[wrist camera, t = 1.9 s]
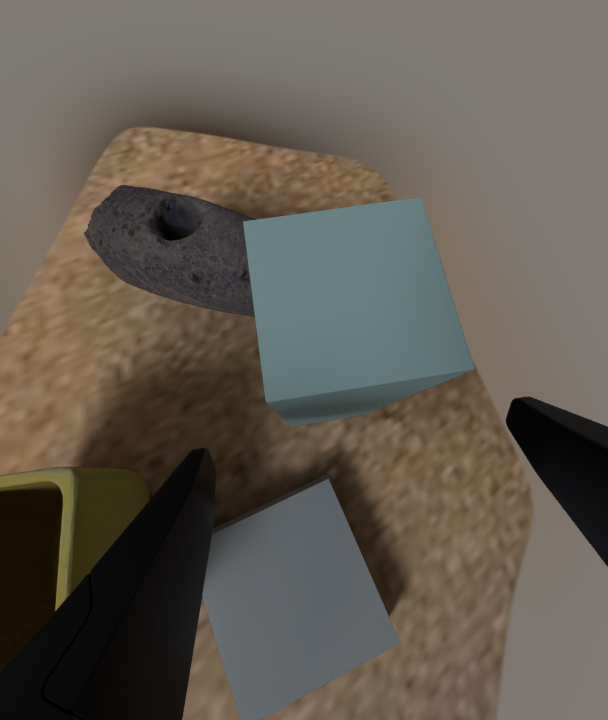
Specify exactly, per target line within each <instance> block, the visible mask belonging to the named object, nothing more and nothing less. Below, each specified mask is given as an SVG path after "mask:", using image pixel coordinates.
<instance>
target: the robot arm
mask: <svg viewBox="0 0 608 720" xmlns="http://www.w3.org/2000/svg"><path fill="white" fill-rule="evenodd" d="M506 424H507V427H508V429H509V430H510V432H511V433H512V435H513V437H514V438H515V440H516V441H517V443H518V444H519V446H520V448H521V449H522V451H523V452H524V454H525V456H526V457H527V459H528V460H529V462H530V464H531V465H532V467H533V468H534V470H535V471H536V473H537V474H538V476H539V477H540V478H541V480H542V481H543V483H544V484H545V485H546V487H547V488H548V489H549V490H550V492H551V493H552V494H553V496H554V497H555V498H556V500H557V501H558V502H559V503H560V505H561V506H562V507H563V509H564V510H565V511H566V513H567V514H568V515H569V517H570V518H571V519H572V521H573V522H574V523H575V525H576V526H577V527H578V528H579V530H580V531H581V532H582V534H583V535H584V536H585V538H586V539H587V540H588V541H589V543H590V544H591V545H592V547H593V548H594V549H595V551H596V552H597V553H598V555H599V556H600V557H601V559H602V560H603V561H604V562H605V564H606V565H607V566H608V427H607V426H605V425H602V424H600V423H597V422H594V421H592V420H589V419H586V418H584V417H581V416H579V415H576V414H573V413H571V412H568V411H566V410H563V409H560V408H558V407H555V406H552V405H550V404H547V403H545V402H542V401H540V400H537V399H534V398H532V397H522V398H515V399H513V400H512V402H511V405H510V408H509V411H508V415H507V418H506ZM215 482H216V470H215V466H214V463H213V460H212V458H211V455H210V453H209V451H208V449H207V448H199V449H194V450H192V451H190V453H189V454H188V455H187V456H186V457H185V458H184V460H183V461H182V462H181V463H180V464H179V466H178V467H177V468H176V469H175V470H174V472H173V473H172V474H171V475H170V476H169V477H168V479H167V480H166V481H165V482H164V483H163V485H162V486H161V487H160V488H159V489H158V491H157V492H156V493H155V494H154V495H153V497H152V498H151V499H150V500H149V501H148V502H147V504H146V505H145V506H144V507H143V508H142V510H141V511H140V512H139V513H138V514H137V516H136V517H135V518H134V519H133V520H132V521H131V523H130V524H129V525H128V526H127V527H126V529H125V530H124V531H123V532H122V533H121V535H120V536H119V537H118V538H117V539H116V541H115V542H114V543H113V544H112V545H111V546H110V548H109V549H108V550H107V551H106V552H105V554H104V555H103V556H102V557H101V558H100V560H99V561H98V562H97V563H96V564H95V565H94V567H93V568H92V569H91V571H90V573H89V574H87V575H86V576H85V577H84V578H83V580H82V581H81V582H80V583H79V584H78V586H77V587H76V588H75V589H74V590H73V591H72V593H71V594H70V595H69V596H68V597H67V598H66V600H65V601H64V602H63V603H62V604H61V605H60V606H59V608H58V609H57V610H56V611H55V612H54V613H53V614H52V616H51V617H50V618H49V619H48V620H47V621H46V622H45V623H44V625H43V626H42V627H41V628H40V629H39V630H38V631H37V632H36V633H35V634H34V635H33V636H32V638H31V639H30V640H29V641H28V642H27V643H26V644H25V645H24V646H23V647H22V648H21V650H20V651H19V652H18V653H17V654H16V655H15V656H14V657H13V658H12V659H11V660H10V661H9V662H8V663H7V664H6V665H5V667H4V668H3V669H2V670H1V671H0V720H182V717H183V711H184V705H185V699H186V693H187V686H188V680H189V674H190V668H191V662H192V656H193V649H194V643H195V637H196V631H197V625H198V619H199V612H200V606H201V600H202V594H203V588H204V582H205V575H206V569H207V563H208V557H209V551H210V544H211V538H212V531H213V520H214V501H215Z"/></svg>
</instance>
